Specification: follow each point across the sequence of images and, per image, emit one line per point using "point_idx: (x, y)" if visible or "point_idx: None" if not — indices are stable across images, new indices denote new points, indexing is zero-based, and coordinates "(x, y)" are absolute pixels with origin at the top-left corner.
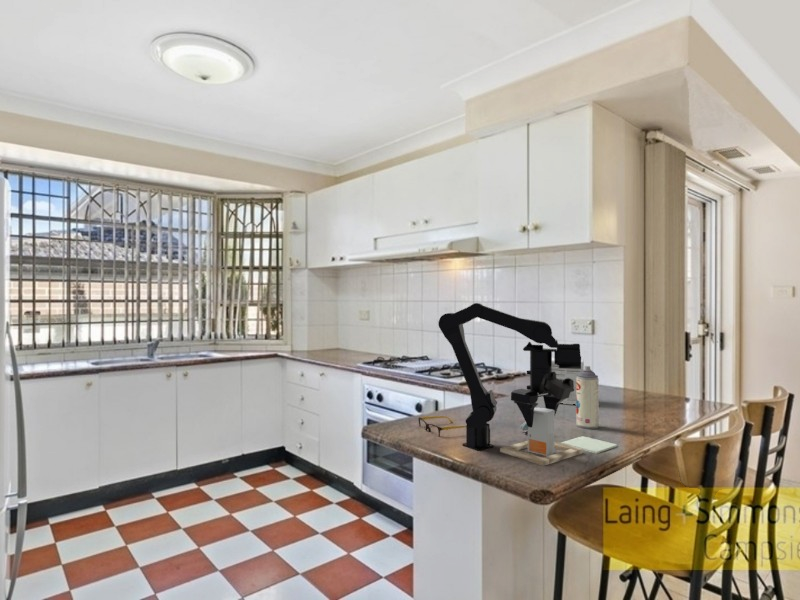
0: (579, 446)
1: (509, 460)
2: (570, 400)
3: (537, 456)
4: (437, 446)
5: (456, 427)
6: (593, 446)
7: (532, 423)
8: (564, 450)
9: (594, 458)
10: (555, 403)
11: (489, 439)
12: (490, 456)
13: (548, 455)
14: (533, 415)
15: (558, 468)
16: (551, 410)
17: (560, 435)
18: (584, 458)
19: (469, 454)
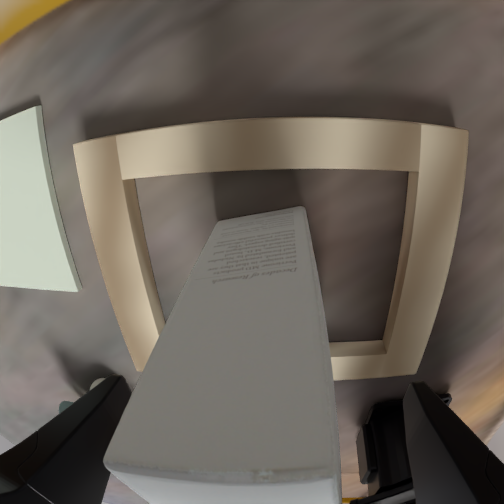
0: (43, 207)
1: (476, 281)
2: None
3: (418, 205)
4: None
5: (344, 499)
6: (1, 174)
7: (428, 403)
8: (137, 213)
9: (100, 52)
10: (24, 497)
11: (375, 433)
12: (469, 346)
13: (292, 208)
14: (455, 463)
15: (418, 57)
16: (165, 483)
17: (32, 340)
18: (141, 72)
19: (481, 383)
